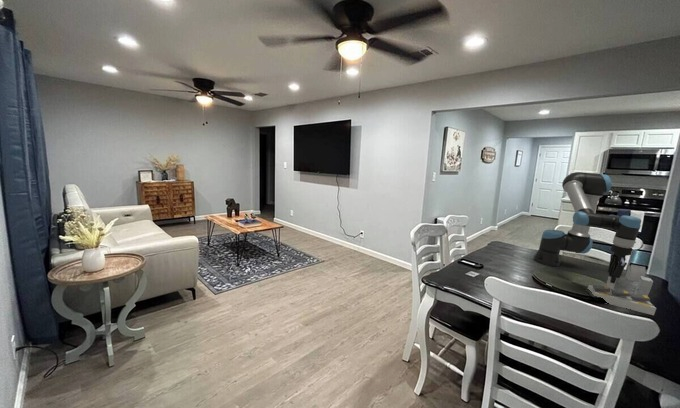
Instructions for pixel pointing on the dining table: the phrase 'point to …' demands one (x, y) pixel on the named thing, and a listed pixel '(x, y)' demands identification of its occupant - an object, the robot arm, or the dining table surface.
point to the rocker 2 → (620, 292)
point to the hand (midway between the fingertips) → (609, 287)
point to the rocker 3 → (640, 297)
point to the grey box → (635, 273)
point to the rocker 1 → (601, 288)
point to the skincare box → (643, 286)
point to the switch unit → (624, 301)
